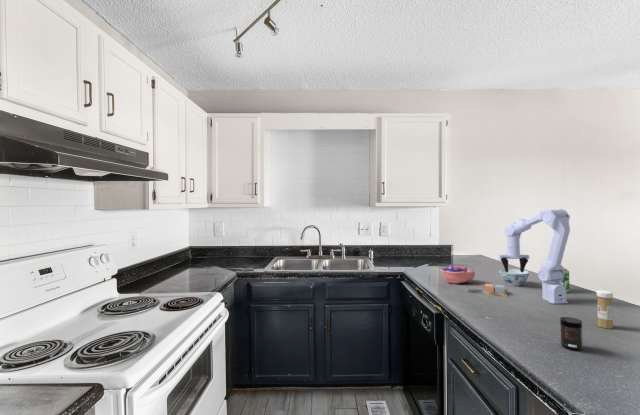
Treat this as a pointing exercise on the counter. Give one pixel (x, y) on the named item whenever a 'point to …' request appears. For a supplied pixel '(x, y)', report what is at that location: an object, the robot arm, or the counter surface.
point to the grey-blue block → (499, 288)
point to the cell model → (457, 274)
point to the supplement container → (571, 333)
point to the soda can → (566, 280)
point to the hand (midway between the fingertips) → (514, 271)
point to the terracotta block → (489, 287)
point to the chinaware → (514, 276)
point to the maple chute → (489, 292)
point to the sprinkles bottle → (605, 309)
